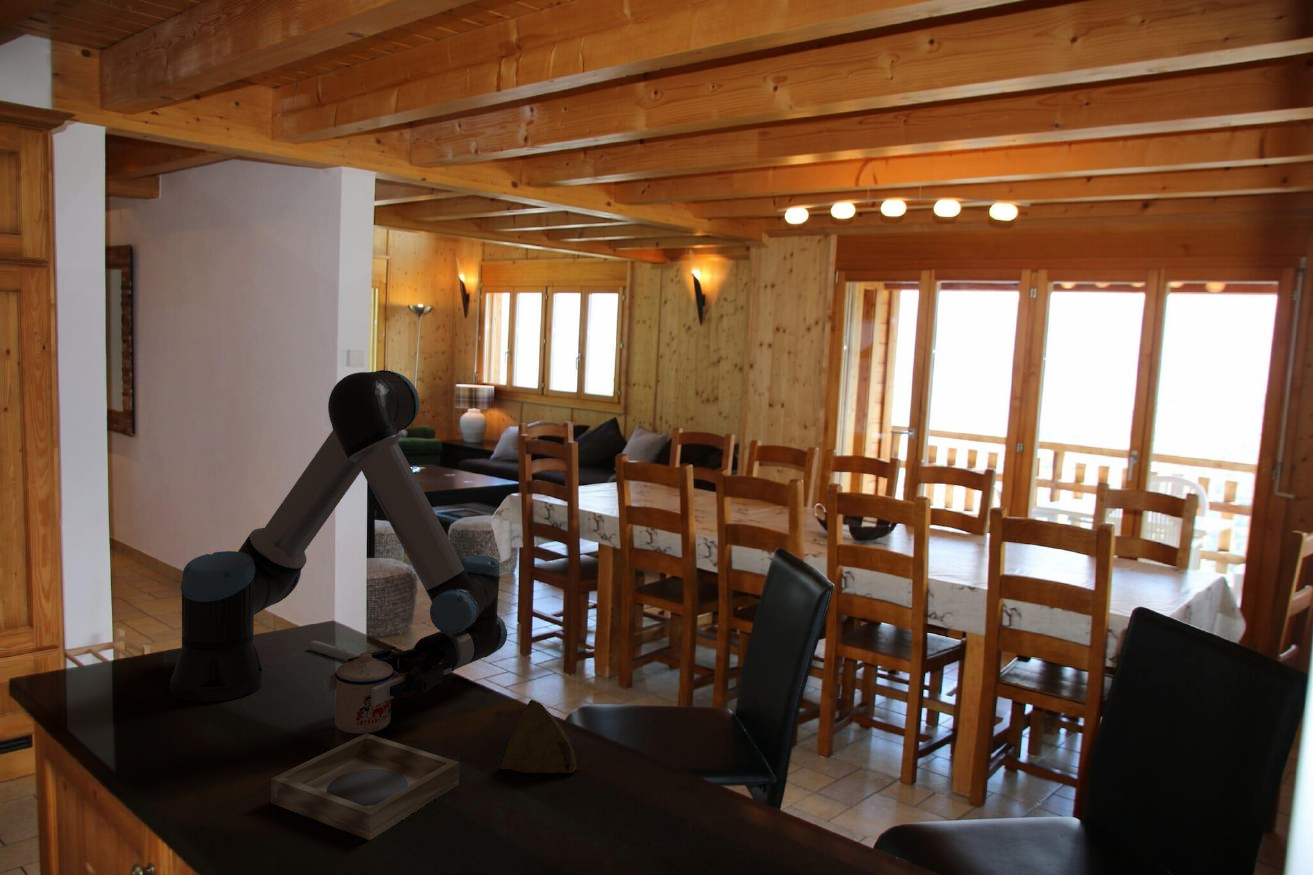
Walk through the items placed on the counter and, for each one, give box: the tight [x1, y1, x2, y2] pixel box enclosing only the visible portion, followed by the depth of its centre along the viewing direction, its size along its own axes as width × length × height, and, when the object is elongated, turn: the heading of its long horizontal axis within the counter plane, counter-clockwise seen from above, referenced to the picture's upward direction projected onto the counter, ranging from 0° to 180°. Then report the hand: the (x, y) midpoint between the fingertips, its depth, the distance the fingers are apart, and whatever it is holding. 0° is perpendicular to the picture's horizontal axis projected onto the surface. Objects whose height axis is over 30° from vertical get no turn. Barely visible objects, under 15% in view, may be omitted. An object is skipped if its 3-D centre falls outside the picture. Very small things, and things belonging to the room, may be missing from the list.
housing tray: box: [270, 733, 460, 841], centre depth 133 cm, size 18×18×4 cm
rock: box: [500, 699, 578, 774], centre depth 143 cm, size 11×9×10 cm
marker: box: [309, 640, 361, 663], centre depth 186 cm, size 18×2×2 cm, turn 59°
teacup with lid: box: [334, 651, 401, 735], centre depth 153 cm, size 12×9×12 cm
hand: (350, 690), depth 149 cm, fingers closed on teacup with lid, 9 cm apart
